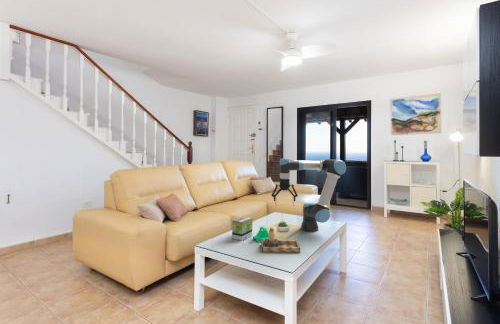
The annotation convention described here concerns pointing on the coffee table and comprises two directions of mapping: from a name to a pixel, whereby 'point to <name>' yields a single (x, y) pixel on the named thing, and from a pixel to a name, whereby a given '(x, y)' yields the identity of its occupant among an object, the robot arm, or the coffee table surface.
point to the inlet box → (280, 246)
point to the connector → (271, 235)
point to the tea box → (241, 228)
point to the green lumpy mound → (262, 234)
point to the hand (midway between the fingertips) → (284, 205)
